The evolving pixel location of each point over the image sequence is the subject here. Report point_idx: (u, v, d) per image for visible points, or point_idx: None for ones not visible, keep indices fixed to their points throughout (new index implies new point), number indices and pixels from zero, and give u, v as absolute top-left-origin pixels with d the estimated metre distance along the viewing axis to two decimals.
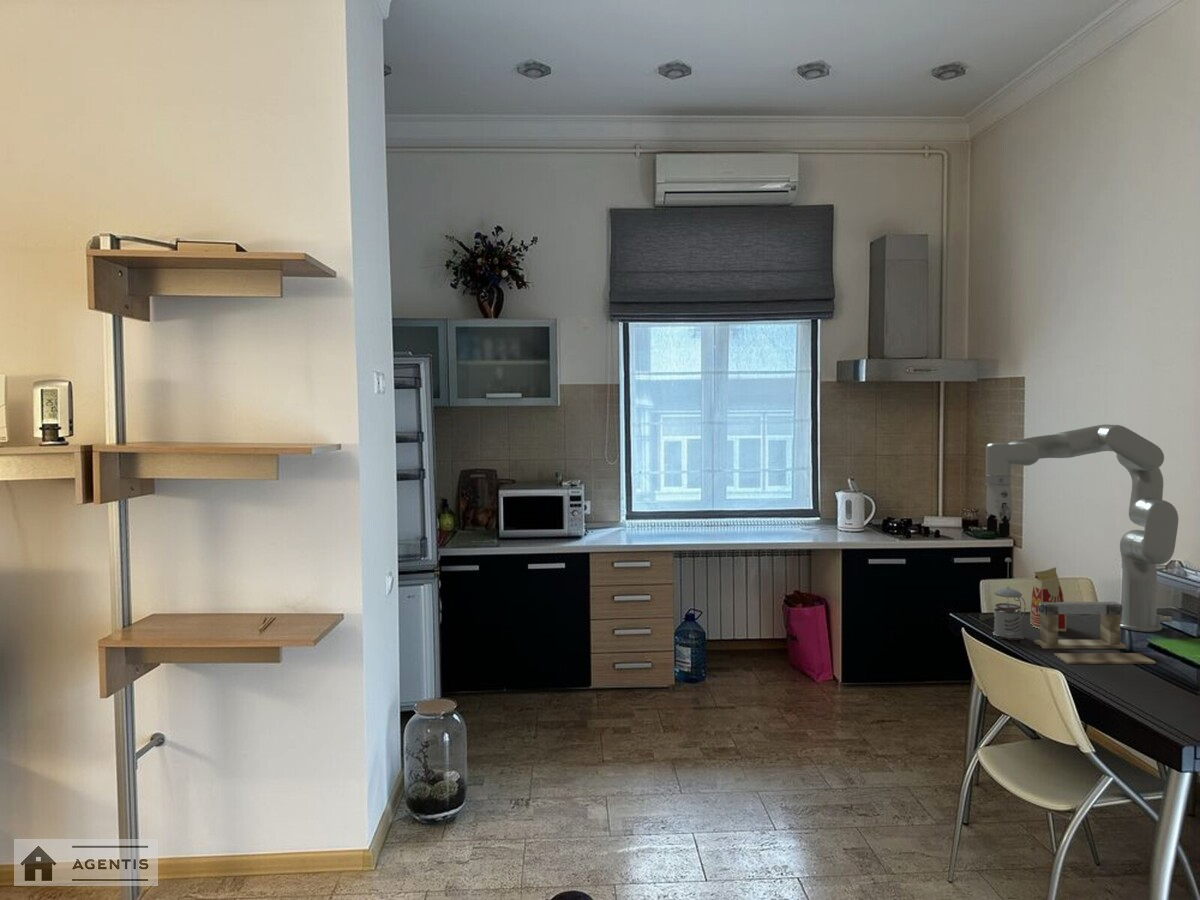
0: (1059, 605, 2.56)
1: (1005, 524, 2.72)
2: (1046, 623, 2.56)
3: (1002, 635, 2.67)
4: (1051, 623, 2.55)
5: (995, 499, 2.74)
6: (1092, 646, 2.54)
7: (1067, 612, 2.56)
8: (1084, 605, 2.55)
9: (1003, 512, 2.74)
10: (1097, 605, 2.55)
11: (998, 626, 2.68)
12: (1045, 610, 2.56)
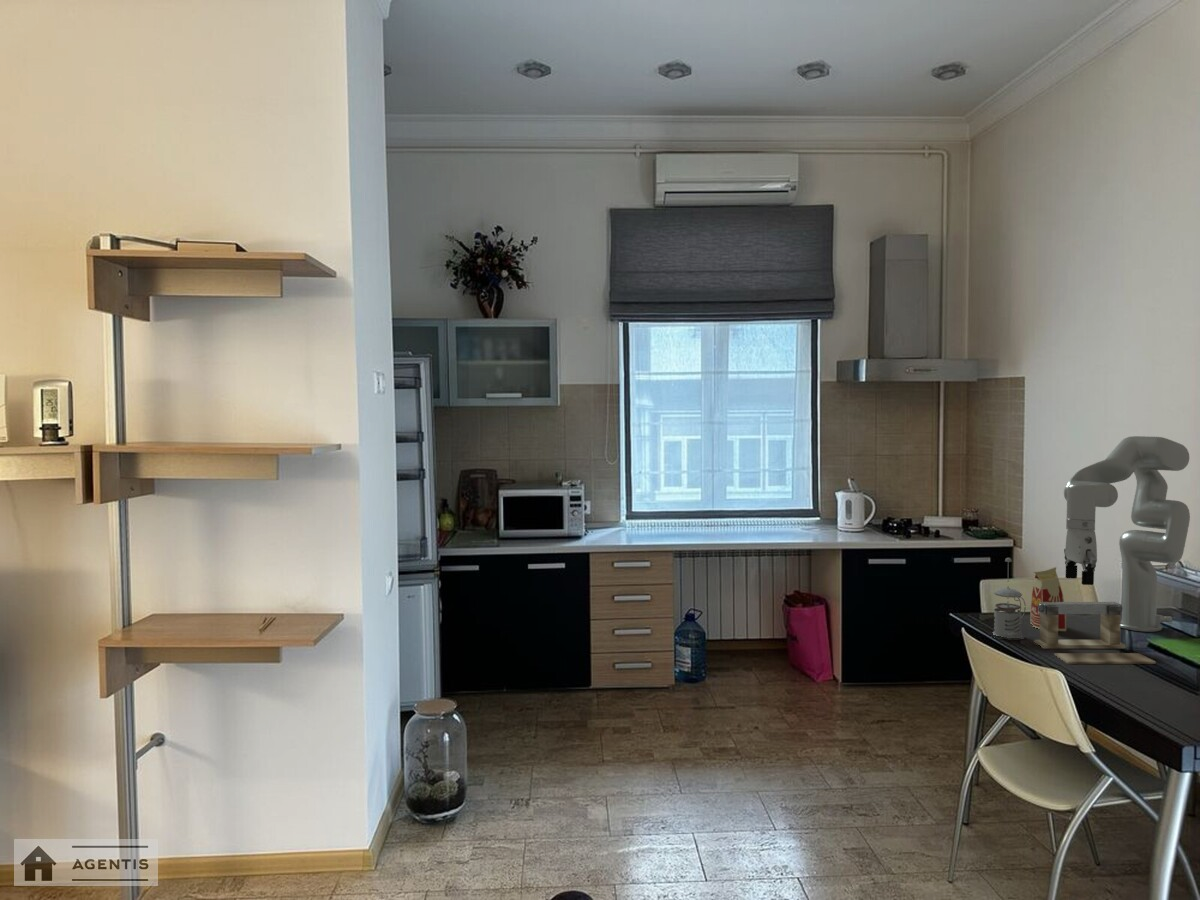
0: (1059, 605, 2.56)
1: (1089, 572, 2.50)
2: (1046, 623, 2.56)
3: (1002, 635, 2.67)
4: (1051, 623, 2.55)
5: (1078, 545, 2.52)
6: (1092, 646, 2.54)
7: (1067, 612, 2.56)
8: (1084, 605, 2.55)
9: (1086, 559, 2.53)
10: (1097, 605, 2.55)
11: (998, 626, 2.68)
12: (1045, 610, 2.56)
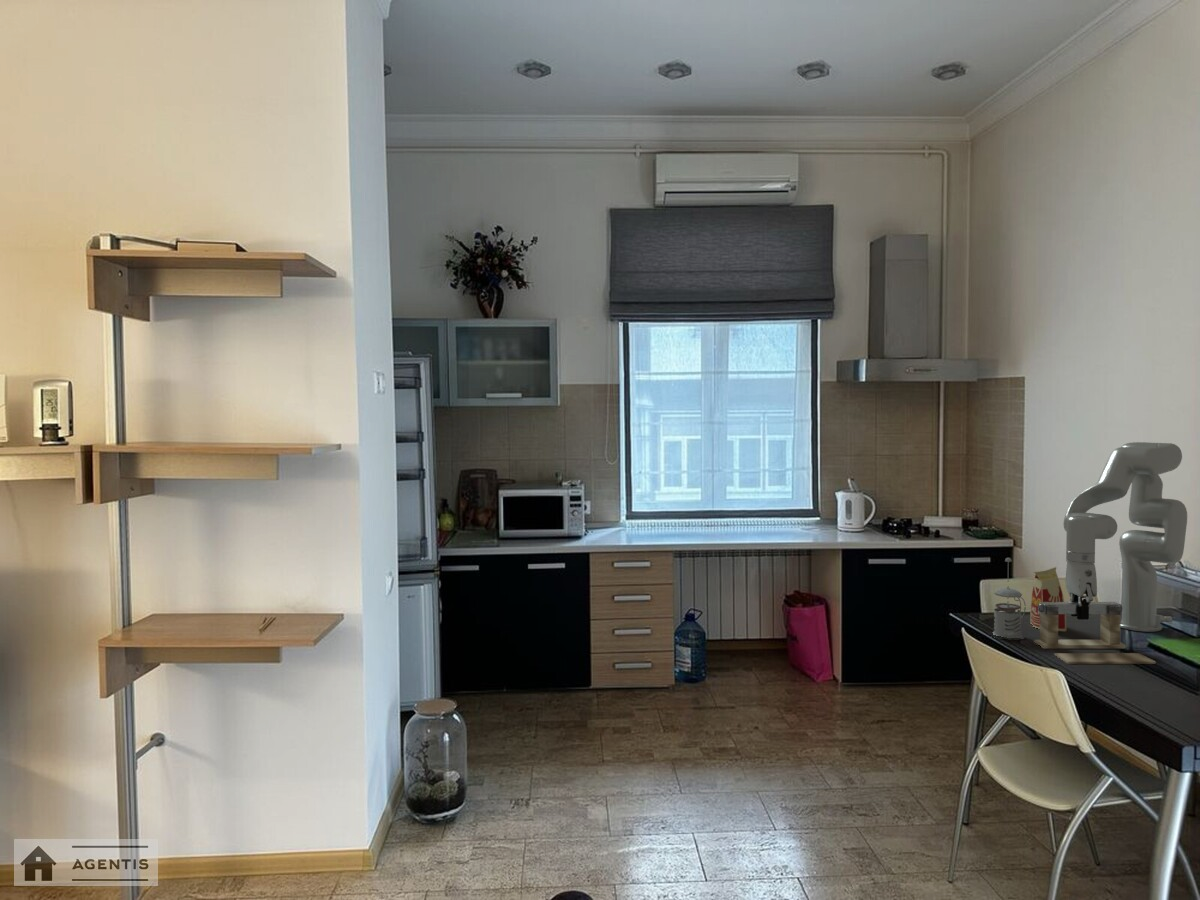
0: (1059, 605, 2.56)
1: (1084, 607, 2.54)
2: (1046, 623, 2.56)
3: (1002, 635, 2.67)
4: (1051, 623, 2.55)
5: (1078, 578, 2.53)
6: (1092, 646, 2.54)
7: (1067, 612, 2.56)
8: None
9: None
10: (1097, 605, 2.55)
11: (998, 626, 2.68)
12: (1045, 610, 2.56)
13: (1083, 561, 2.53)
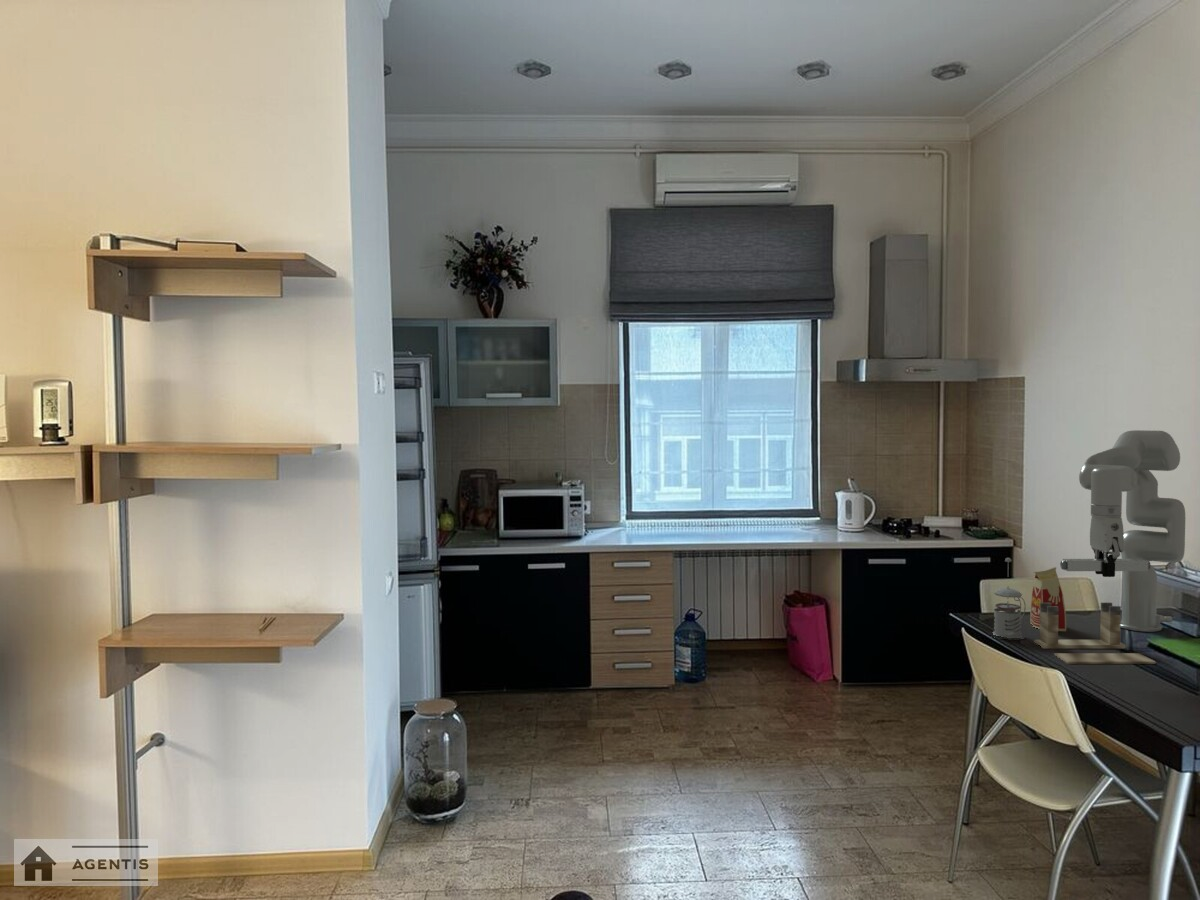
0: (1083, 562, 2.41)
1: (1110, 564, 2.39)
2: (1046, 623, 2.56)
3: (1002, 635, 2.67)
4: (1051, 623, 2.55)
5: (1104, 532, 2.38)
6: (1092, 646, 2.54)
7: (1092, 569, 2.41)
8: None
9: None
10: (1124, 561, 2.40)
11: (998, 626, 2.68)
12: (1068, 566, 2.41)
13: (1109, 514, 2.38)
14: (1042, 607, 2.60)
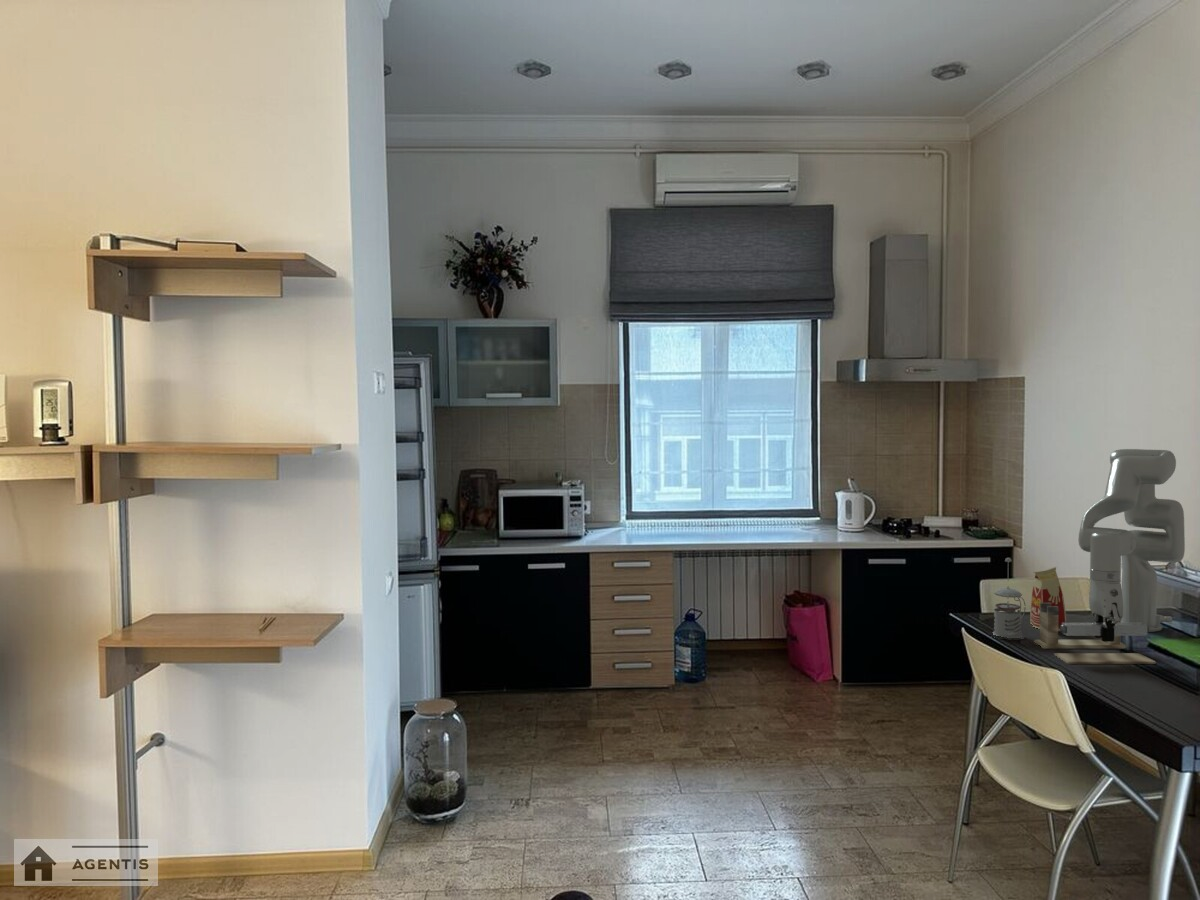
0: (1082, 626, 2.42)
1: (1109, 629, 2.40)
2: (1046, 623, 2.56)
3: (1002, 635, 2.67)
4: (1051, 623, 2.55)
5: (1103, 598, 2.39)
6: (1092, 646, 2.54)
7: (1091, 633, 2.42)
8: None
9: (1110, 613, 2.41)
10: (1123, 626, 2.41)
11: (998, 626, 2.68)
12: (1067, 631, 2.42)
13: (1108, 580, 2.39)
14: (1042, 607, 2.60)
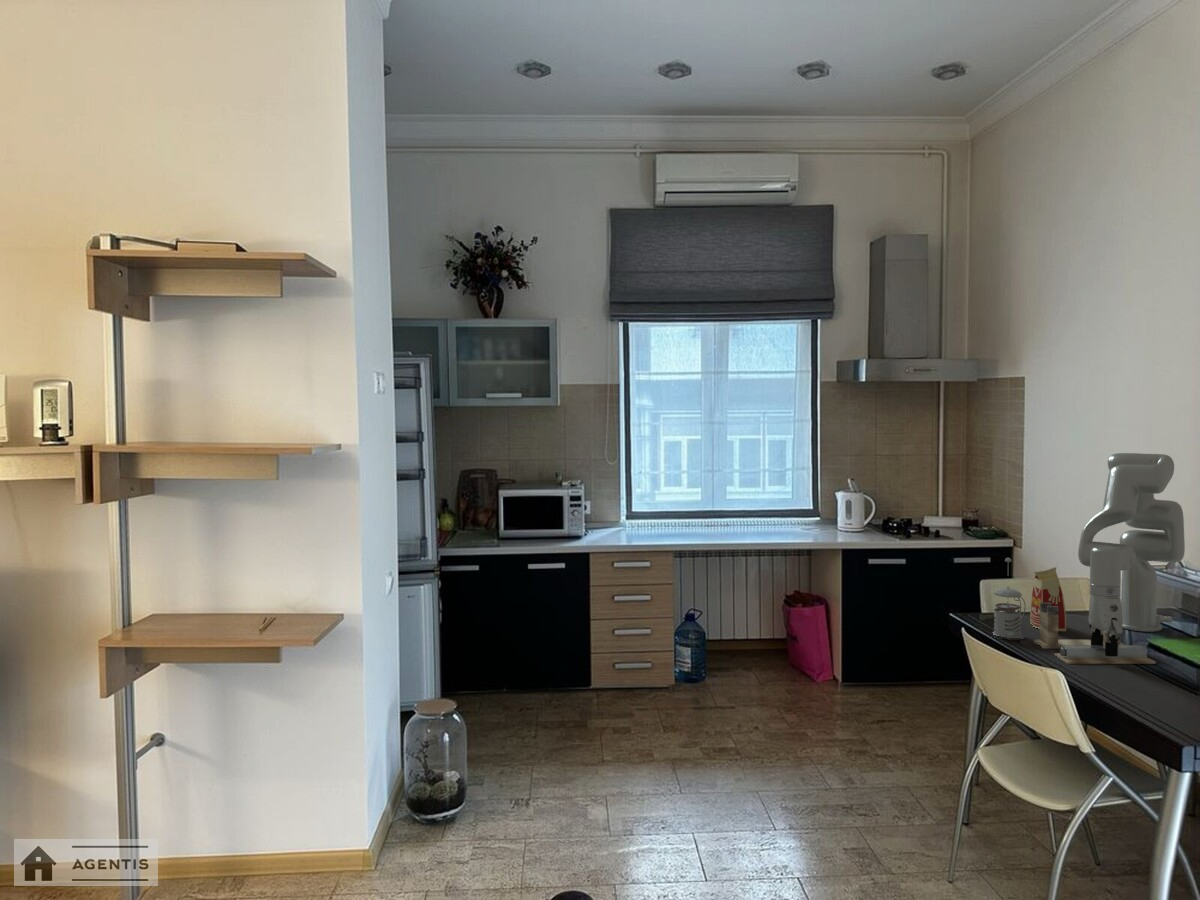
0: (1082, 649, 2.43)
1: (1113, 644, 2.39)
2: (1046, 623, 2.56)
3: (1002, 635, 2.67)
4: (1051, 623, 2.55)
5: (1103, 613, 2.40)
6: None
7: (1091, 657, 2.43)
8: None
9: (1111, 628, 2.40)
10: (1122, 649, 2.42)
11: (998, 626, 2.68)
12: (1067, 654, 2.43)
13: (1108, 595, 2.39)
14: (1042, 607, 2.60)
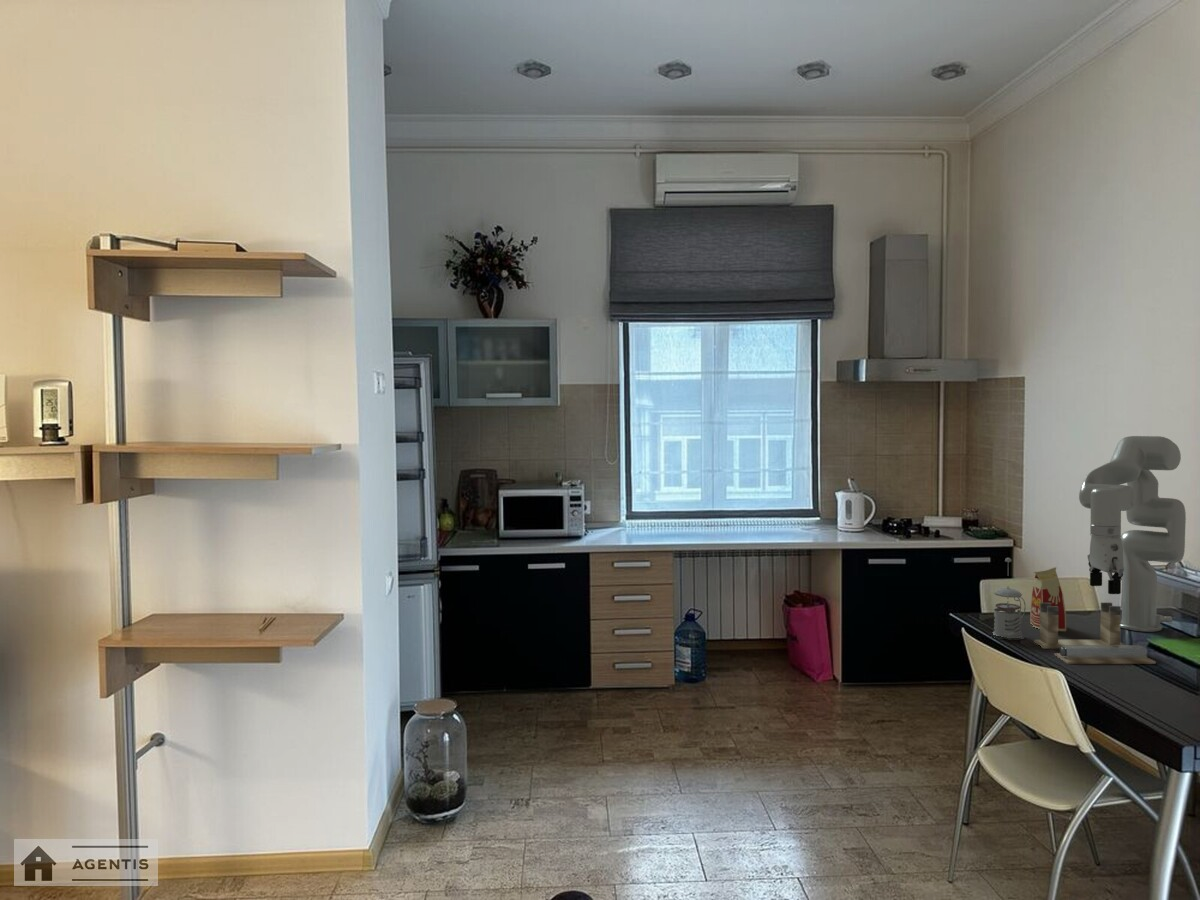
0: (1082, 649, 2.43)
1: (1116, 581, 2.39)
2: (1046, 623, 2.56)
3: (1002, 635, 2.67)
4: (1051, 623, 2.55)
5: (1104, 552, 2.41)
6: None
7: (1091, 657, 2.43)
8: (1108, 649, 2.42)
9: (1112, 567, 2.41)
10: (1122, 649, 2.42)
11: (998, 626, 2.68)
12: (1067, 654, 2.43)
13: (1109, 535, 2.40)
14: (1042, 607, 2.60)
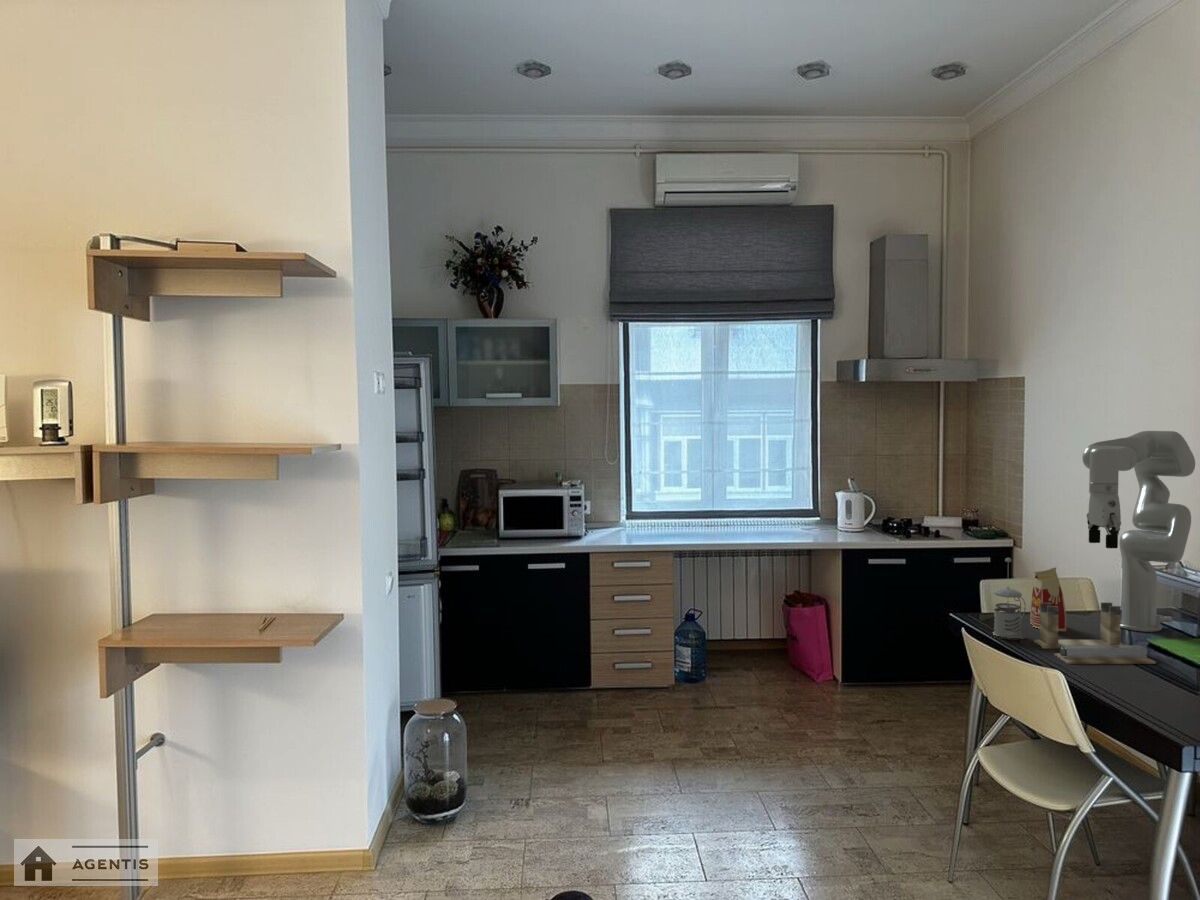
0: (1082, 649, 2.43)
1: (1113, 536, 2.51)
2: (1046, 623, 2.56)
3: (1002, 635, 2.67)
4: (1051, 623, 2.55)
5: (1102, 508, 2.53)
6: None
7: (1091, 657, 2.43)
8: (1108, 649, 2.42)
9: (1110, 523, 2.53)
10: (1122, 649, 2.42)
11: (998, 626, 2.68)
12: (1067, 654, 2.43)
13: (1107, 492, 2.52)
14: (1042, 607, 2.60)
